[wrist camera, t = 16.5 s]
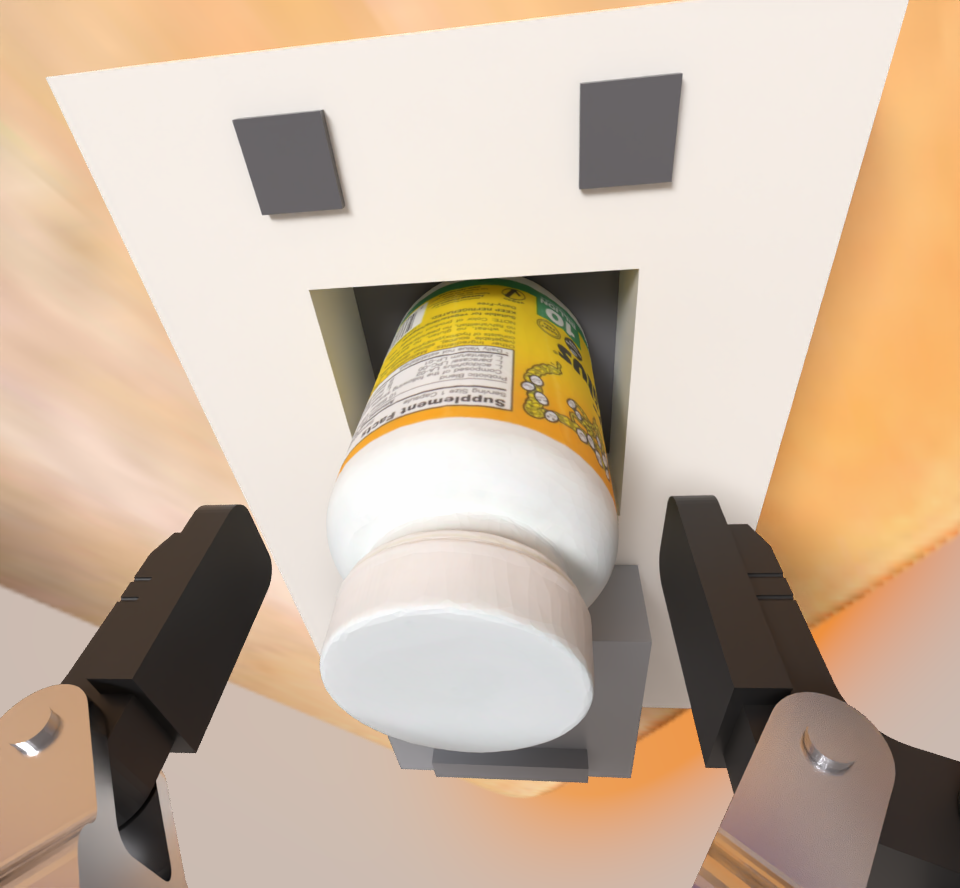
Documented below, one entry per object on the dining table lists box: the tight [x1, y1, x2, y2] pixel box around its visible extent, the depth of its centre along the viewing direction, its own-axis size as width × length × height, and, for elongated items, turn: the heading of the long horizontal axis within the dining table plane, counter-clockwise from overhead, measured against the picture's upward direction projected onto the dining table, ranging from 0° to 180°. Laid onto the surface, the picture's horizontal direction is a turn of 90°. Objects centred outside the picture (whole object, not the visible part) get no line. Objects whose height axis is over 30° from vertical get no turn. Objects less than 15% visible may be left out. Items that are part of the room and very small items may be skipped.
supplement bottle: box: [320, 276, 619, 753], centre depth 12 cm, size 5×5×10 cm
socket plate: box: [46, 0, 909, 708], centre depth 16 cm, size 14×21×3 cm, turn 5°
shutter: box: [388, 565, 652, 783], centre depth 18 cm, size 8×8×3 cm
